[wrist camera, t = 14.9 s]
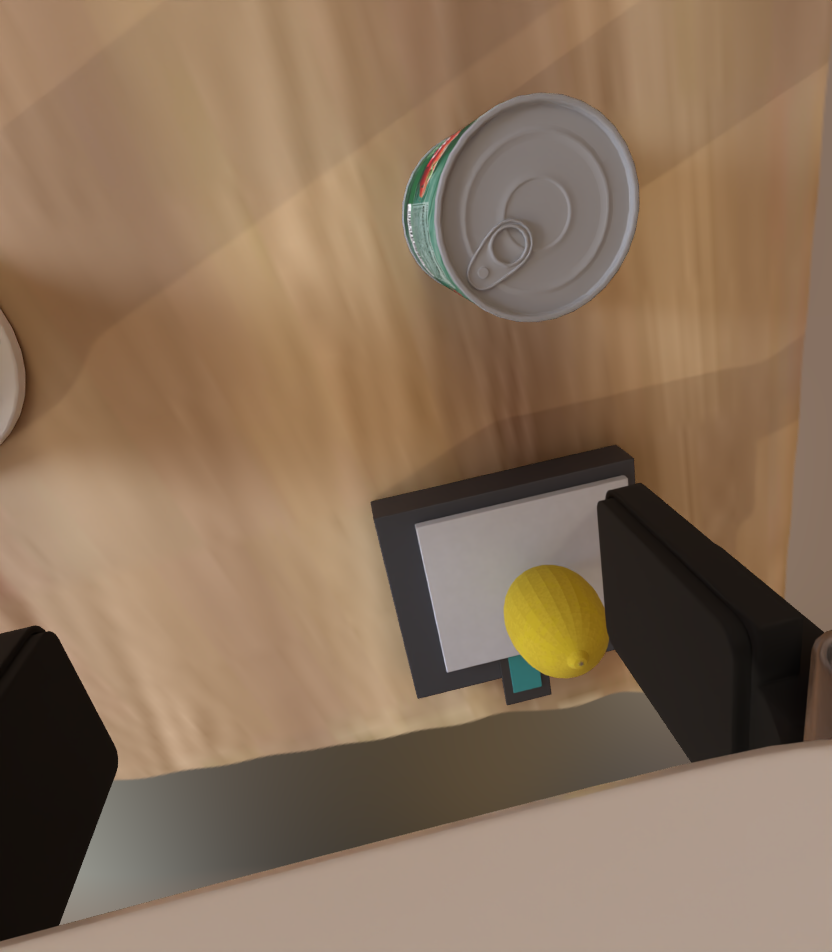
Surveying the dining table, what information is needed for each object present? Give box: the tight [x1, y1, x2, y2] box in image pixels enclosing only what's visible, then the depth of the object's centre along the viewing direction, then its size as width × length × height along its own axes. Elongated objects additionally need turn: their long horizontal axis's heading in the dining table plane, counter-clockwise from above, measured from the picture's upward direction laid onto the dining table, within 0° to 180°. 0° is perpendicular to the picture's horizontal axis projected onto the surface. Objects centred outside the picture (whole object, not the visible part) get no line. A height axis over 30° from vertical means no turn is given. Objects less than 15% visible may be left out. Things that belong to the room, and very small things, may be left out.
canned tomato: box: [402, 93, 639, 322], centre depth 28 cm, size 8×8×11 cm
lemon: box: [504, 565, 609, 678], centre depth 35 cm, size 6×6×8 cm
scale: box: [371, 445, 635, 705], centre depth 41 cm, size 16×16×3 cm
